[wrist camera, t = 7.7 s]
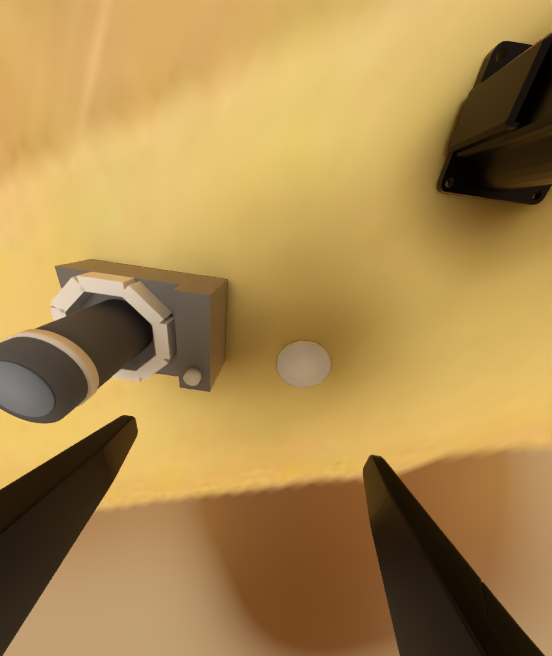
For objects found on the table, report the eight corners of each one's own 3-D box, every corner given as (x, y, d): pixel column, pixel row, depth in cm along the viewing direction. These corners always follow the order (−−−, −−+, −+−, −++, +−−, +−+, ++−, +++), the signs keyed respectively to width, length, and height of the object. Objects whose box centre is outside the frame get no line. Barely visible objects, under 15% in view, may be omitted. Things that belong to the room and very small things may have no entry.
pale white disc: (335, 343, 20) (337, 348, 19) (322, 385, 22) (323, 391, 22) (281, 334, 20) (281, 338, 19) (273, 378, 22) (273, 383, 22)
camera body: (227, 279, 18) (206, 298, 13) (224, 361, 21) (207, 397, 17) (90, 259, 18) (25, 271, 13) (110, 345, 21) (64, 376, 17)
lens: (150, 302, 16) (50, 356, 9) (156, 356, 18) (79, 433, 11) (86, 293, 16) (-58, 341, 9) (100, 349, 18) (-11, 420, 11)
